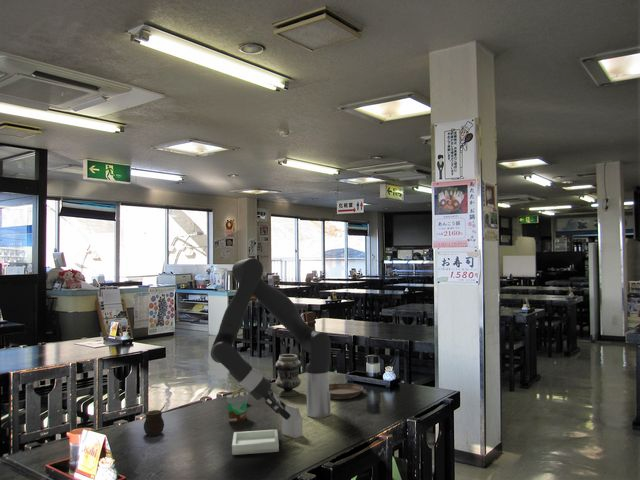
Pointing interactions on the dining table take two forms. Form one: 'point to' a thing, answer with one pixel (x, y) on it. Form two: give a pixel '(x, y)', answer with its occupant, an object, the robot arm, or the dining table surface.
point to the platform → (235, 393)
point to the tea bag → (292, 423)
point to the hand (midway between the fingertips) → (288, 414)
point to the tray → (255, 442)
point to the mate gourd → (154, 422)
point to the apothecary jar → (288, 374)
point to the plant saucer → (344, 390)
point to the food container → (237, 407)
